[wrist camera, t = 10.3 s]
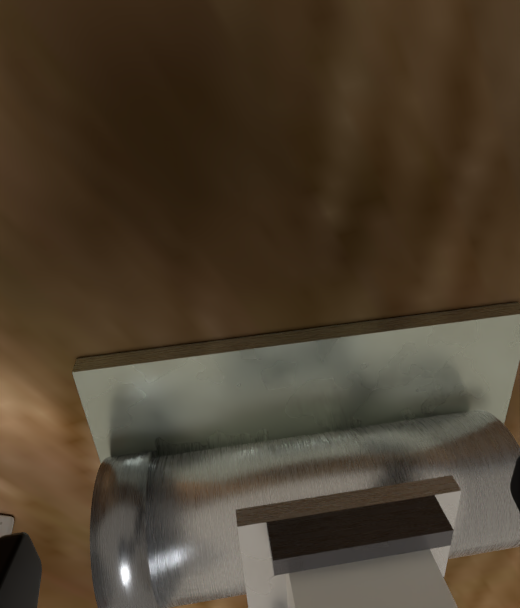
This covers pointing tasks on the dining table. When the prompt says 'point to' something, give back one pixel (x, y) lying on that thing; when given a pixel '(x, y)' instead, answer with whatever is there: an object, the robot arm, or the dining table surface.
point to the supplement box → (6, 525)
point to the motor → (299, 454)
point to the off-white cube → (372, 584)
